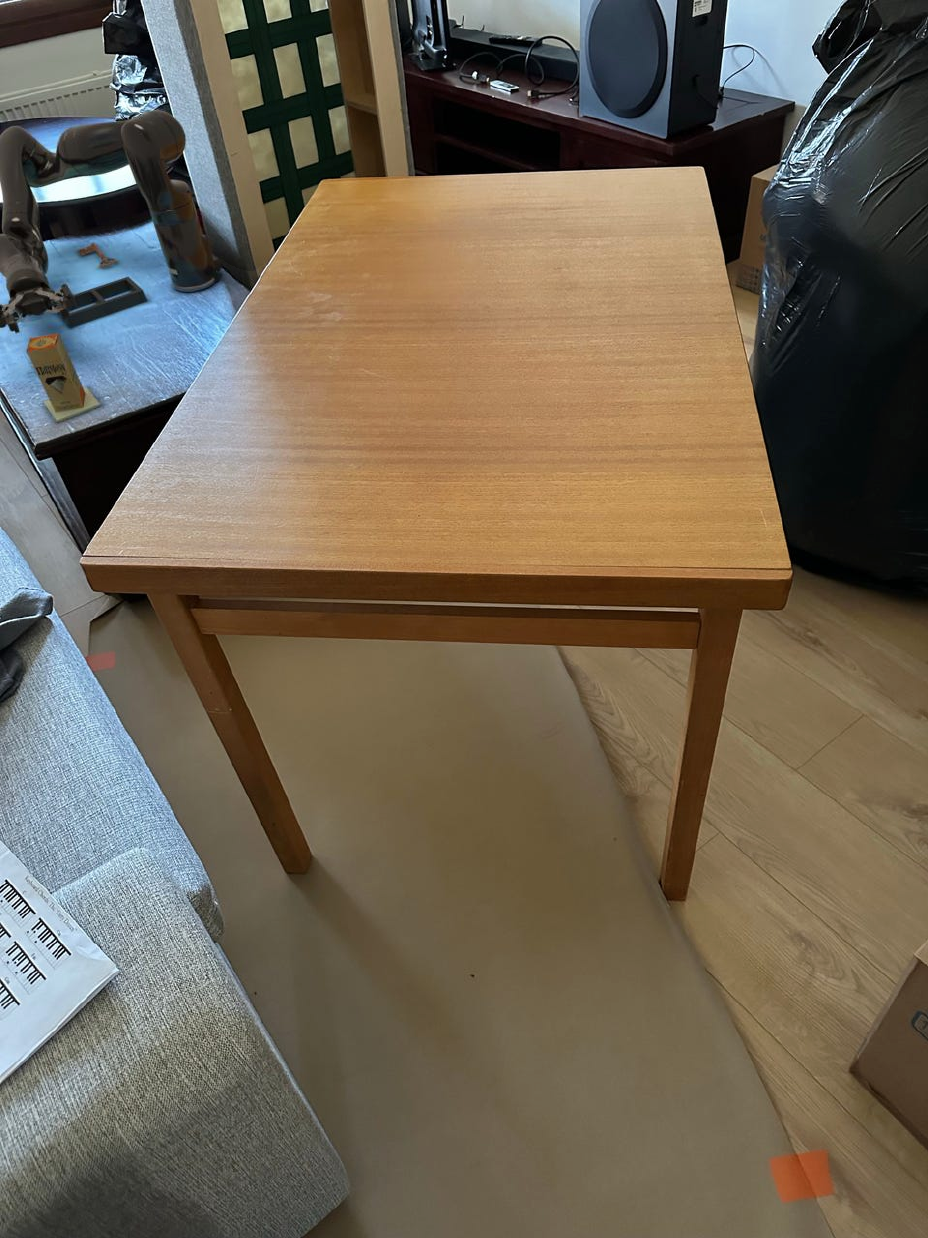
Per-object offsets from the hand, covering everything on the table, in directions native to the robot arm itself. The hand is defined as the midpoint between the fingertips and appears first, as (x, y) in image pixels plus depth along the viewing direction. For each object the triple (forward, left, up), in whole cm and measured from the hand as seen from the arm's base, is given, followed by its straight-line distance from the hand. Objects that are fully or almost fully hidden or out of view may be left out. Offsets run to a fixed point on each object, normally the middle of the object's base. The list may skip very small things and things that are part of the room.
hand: (39, 321), depth 152 cm
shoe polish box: (+2, +10, -12) cm, 15 cm away
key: (-24, -51, -12) cm, 58 cm away
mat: (+2, +10, -12) cm, 16 cm away
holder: (-16, -25, -12) cm, 32 cm away
